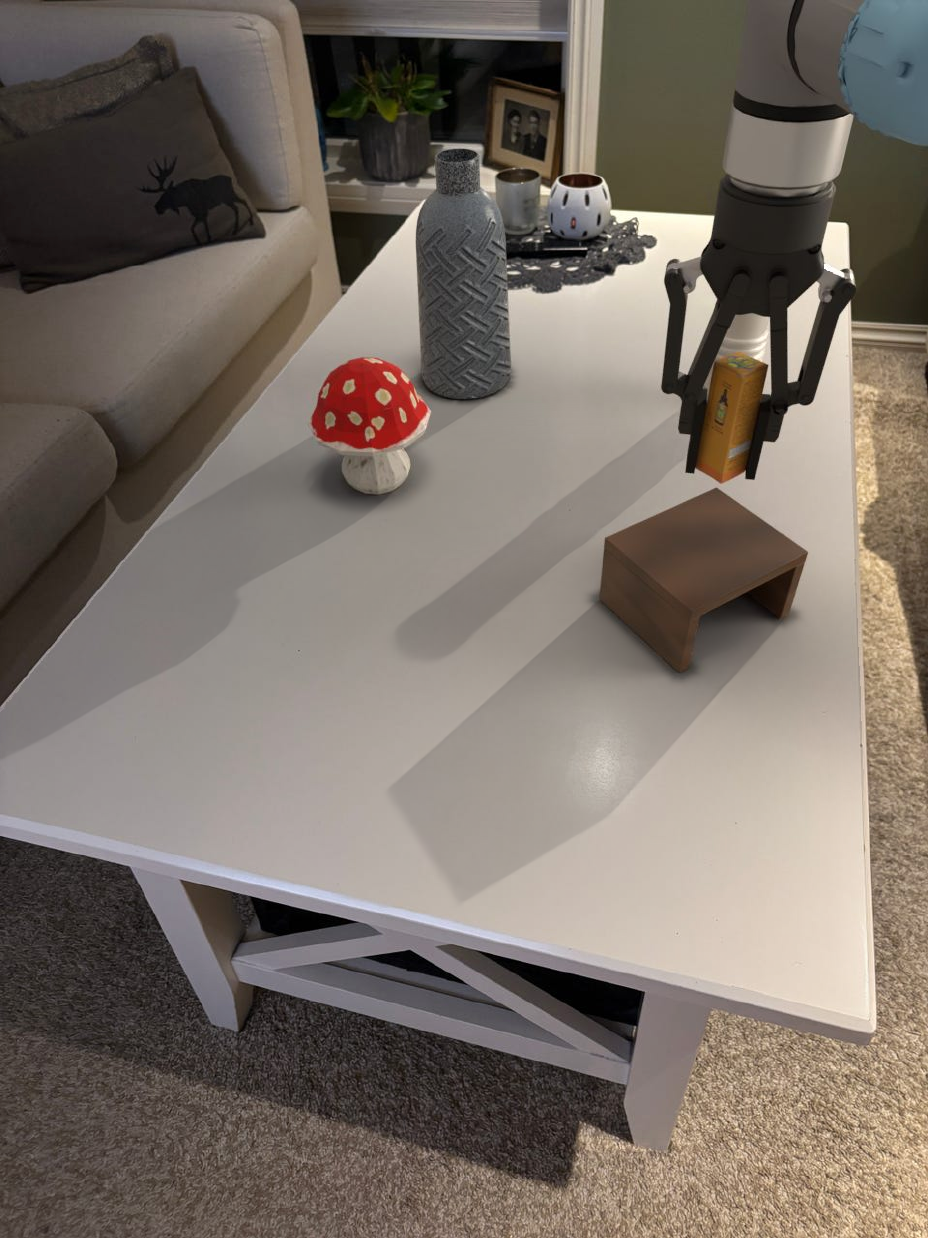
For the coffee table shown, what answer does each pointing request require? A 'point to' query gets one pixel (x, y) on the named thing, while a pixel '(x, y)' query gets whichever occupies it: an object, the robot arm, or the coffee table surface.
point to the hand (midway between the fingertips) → (720, 466)
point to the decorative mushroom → (370, 422)
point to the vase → (462, 283)
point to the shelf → (695, 570)
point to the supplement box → (730, 416)
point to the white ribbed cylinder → (743, 339)
